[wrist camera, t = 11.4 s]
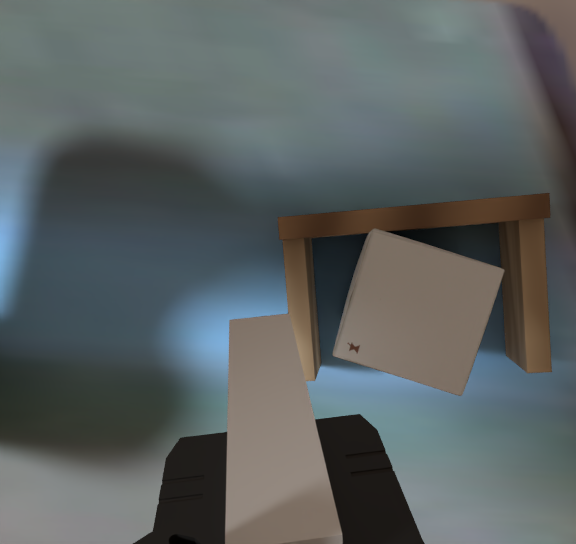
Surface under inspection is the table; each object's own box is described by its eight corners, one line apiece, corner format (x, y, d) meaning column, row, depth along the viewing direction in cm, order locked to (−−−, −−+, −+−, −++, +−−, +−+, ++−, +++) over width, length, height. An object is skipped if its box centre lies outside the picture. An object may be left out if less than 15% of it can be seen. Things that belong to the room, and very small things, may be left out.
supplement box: (430, 350, 38) (462, 403, 26) (339, 319, 39) (326, 357, 27) (462, 259, 38) (510, 269, 25) (367, 230, 39) (369, 226, 26)
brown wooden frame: (302, 363, 40) (291, 386, 34) (291, 220, 39) (277, 217, 33) (527, 354, 37) (558, 377, 31) (518, 200, 37) (549, 192, 31)
